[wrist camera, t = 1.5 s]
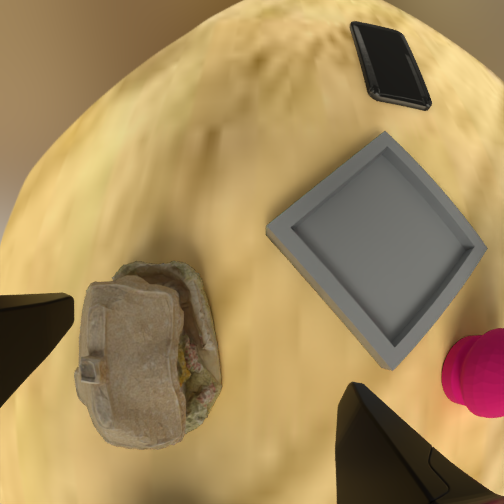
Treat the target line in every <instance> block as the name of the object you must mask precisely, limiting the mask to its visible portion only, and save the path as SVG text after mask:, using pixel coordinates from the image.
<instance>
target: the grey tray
mask: <svg viewBox="0 0 504 504" xmlns="http://www.w3.org/2000/svg"><path fill="white" fill-rule="evenodd" d="M266 236H267V237H268V238H269V239H270V240H271V241H272V242H273V244H274V245H275V246H276V247H277V248H278V249H279V250H280V251H281V252H282V254H283V255H284V256H285V257H286V258H287V259H288V260H289V261H290V263H291V264H292V265H293V266H294V267H295V268H296V269H297V271H298V272H299V273H300V274H301V275H302V276H303V277H304V278H305V280H306V281H307V282H308V283H309V284H310V285H311V286H312V288H313V289H314V290H315V291H316V292H317V293H318V294H319V296H320V297H321V298H322V299H323V300H324V301H325V302H326V304H327V305H328V306H329V307H330V308H331V309H332V310H333V312H334V313H335V314H336V315H337V316H338V317H339V319H340V320H341V321H342V322H343V323H344V324H345V326H346V327H347V328H348V329H349V330H350V331H351V333H352V334H353V335H354V336H355V337H356V338H357V340H358V341H359V342H360V343H361V344H362V345H363V347H364V348H365V349H366V350H367V351H368V352H369V354H370V355H371V356H372V357H373V358H374V359H375V361H376V362H377V363H378V364H379V365H380V367H381V368H384V369H388V370H391V371H393V370H394V369H395V368H396V367H397V366H398V365H399V364H400V363H401V362H402V360H403V359H404V358H405V357H406V356H407V355H408V354H409V353H410V352H411V350H412V349H413V348H414V347H415V346H416V345H417V344H418V343H419V341H420V340H421V339H422V338H423V337H424V335H425V334H426V333H427V332H428V331H429V329H430V328H431V327H432V326H433V325H434V323H435V322H436V321H437V320H438V318H439V317H440V316H441V315H442V313H443V312H444V311H445V309H446V308H447V307H448V305H449V304H450V303H451V301H452V300H453V299H454V297H455V296H456V295H457V293H458V292H459V291H460V289H461V288H462V286H463V285H464V284H465V282H466V281H467V279H468V278H469V276H470V275H471V273H472V272H473V270H474V269H475V267H476V266H477V264H478V263H479V261H480V260H481V258H482V256H483V255H484V253H485V252H486V250H487V247H486V245H485V244H484V243H483V241H482V240H481V238H480V237H479V236H478V234H477V233H476V232H475V230H474V229H473V228H472V226H471V225H470V224H469V222H468V221H467V220H466V218H465V217H464V216H463V215H462V213H461V212H460V211H459V210H458V208H457V207H456V206H455V205H454V203H453V202H452V201H451V200H450V199H449V197H448V196H447V195H446V194H445V193H444V192H443V190H442V189H441V188H440V187H439V186H438V185H437V184H436V182H435V181H434V180H433V179H432V178H431V177H430V176H429V175H428V174H427V172H426V171H425V170H424V169H423V168H422V167H421V166H420V165H419V164H418V163H417V162H416V161H415V160H414V159H413V158H412V157H411V156H410V155H409V154H408V153H407V152H406V151H405V150H404V149H403V148H402V147H401V146H400V145H399V144H398V143H397V142H396V141H395V140H394V139H393V138H392V137H391V136H390V135H389V134H388V133H387V132H386V131H384V132H383V133H382V134H380V135H379V136H378V137H376V138H375V139H374V140H373V141H371V142H370V143H369V144H368V145H366V146H365V147H364V148H363V149H361V150H360V151H359V152H358V153H356V154H355V155H354V156H352V157H351V158H350V159H349V160H347V161H346V162H345V163H344V164H342V165H341V166H340V167H339V168H337V169H336V170H335V171H334V172H332V173H331V174H330V175H329V176H327V177H326V178H325V179H324V180H322V181H321V182H320V183H319V184H317V185H316V186H315V187H314V188H312V189H311V190H310V191H309V192H307V193H306V194H305V195H304V196H302V197H301V198H300V199H299V200H297V201H296V202H295V203H294V204H292V205H291V206H290V207H289V208H288V209H286V210H285V211H284V212H283V213H281V214H280V215H279V216H278V217H276V218H275V219H274V220H273V221H271V222H270V223H269V224H268V225H267V226H266Z"/></svg>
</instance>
